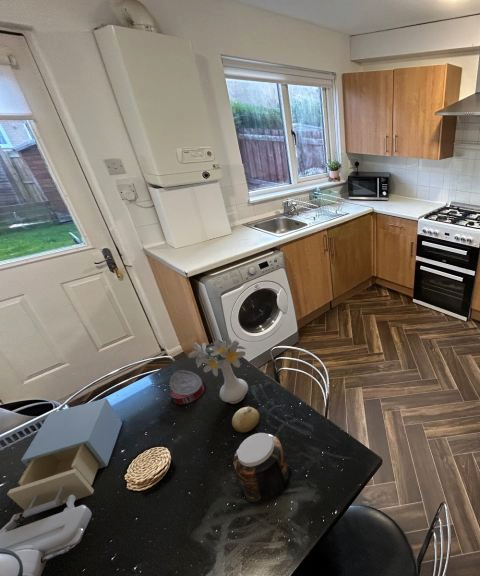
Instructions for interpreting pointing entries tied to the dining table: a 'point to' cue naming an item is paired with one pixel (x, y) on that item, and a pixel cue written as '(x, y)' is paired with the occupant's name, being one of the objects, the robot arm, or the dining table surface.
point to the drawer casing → (78, 431)
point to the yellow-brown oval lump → (245, 419)
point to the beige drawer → (55, 479)
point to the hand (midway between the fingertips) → (45, 505)
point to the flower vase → (223, 367)
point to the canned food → (185, 386)
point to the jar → (261, 467)
